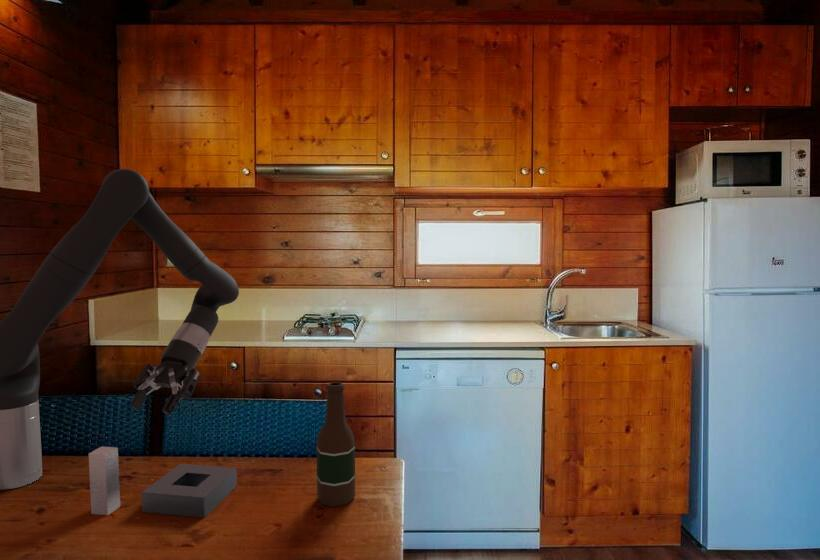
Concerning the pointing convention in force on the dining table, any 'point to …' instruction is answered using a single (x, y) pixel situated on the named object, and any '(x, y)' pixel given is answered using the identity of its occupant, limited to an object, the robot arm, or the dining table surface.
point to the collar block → (189, 490)
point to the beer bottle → (335, 452)
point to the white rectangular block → (104, 480)
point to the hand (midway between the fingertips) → (149, 410)
